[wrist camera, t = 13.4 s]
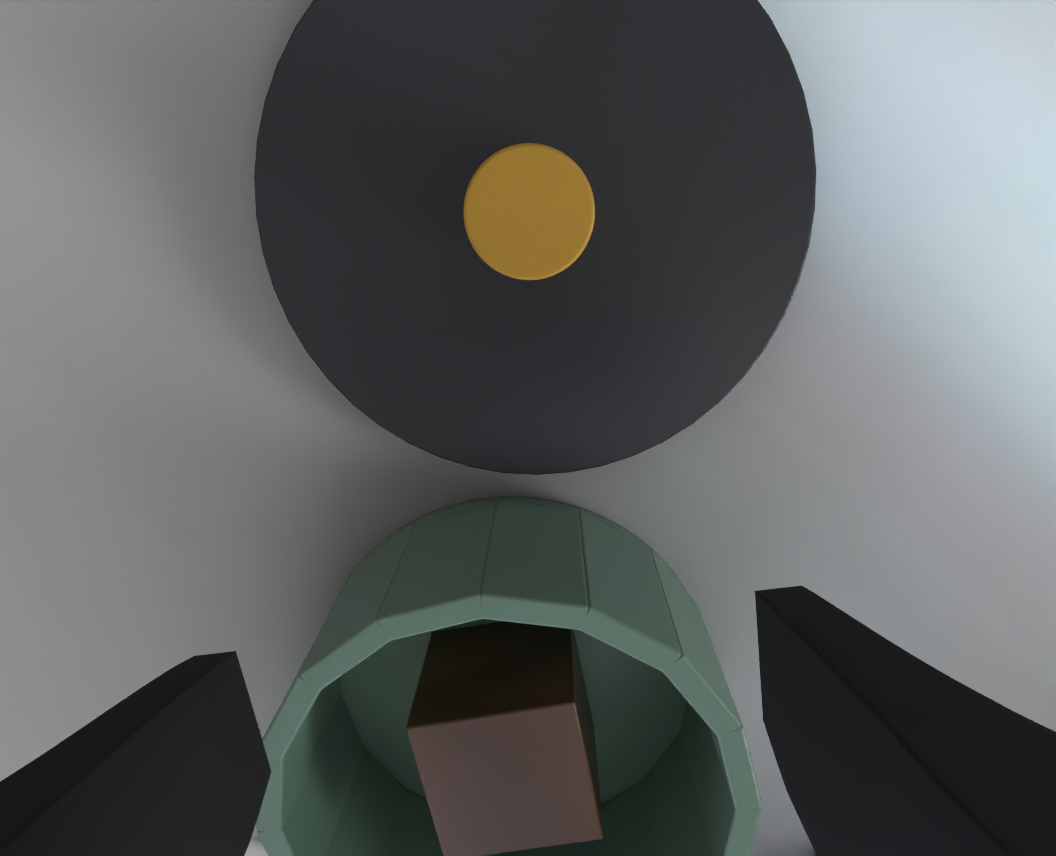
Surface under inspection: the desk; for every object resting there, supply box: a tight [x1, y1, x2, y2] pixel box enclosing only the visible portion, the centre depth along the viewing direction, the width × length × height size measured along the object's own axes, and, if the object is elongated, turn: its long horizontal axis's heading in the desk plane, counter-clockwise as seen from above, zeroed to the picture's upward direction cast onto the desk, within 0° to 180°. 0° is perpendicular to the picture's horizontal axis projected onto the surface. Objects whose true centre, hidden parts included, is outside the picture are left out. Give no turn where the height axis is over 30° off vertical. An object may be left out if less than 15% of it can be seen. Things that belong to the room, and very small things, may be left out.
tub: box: [256, 497, 762, 856], centre depth 19 cm, size 11×11×5 cm
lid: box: [254, 0, 816, 475], centre depth 15 cm, size 13×13×5 cm
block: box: [406, 621, 604, 856], centre depth 19 cm, size 4×4×4 cm
